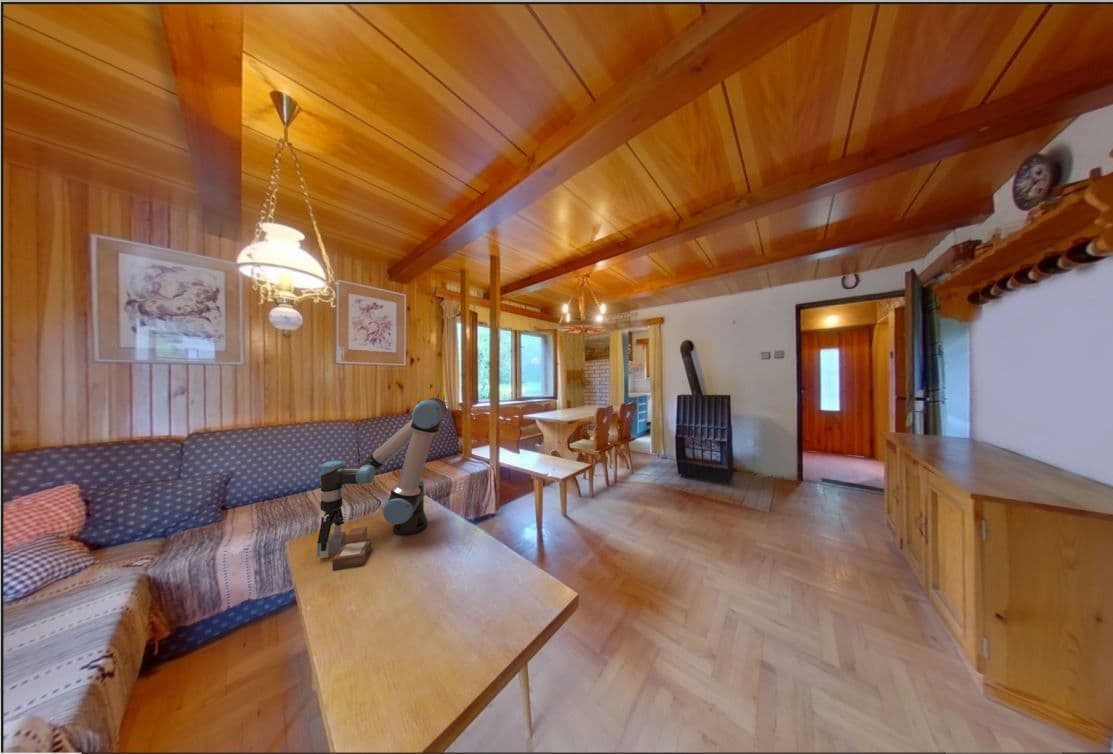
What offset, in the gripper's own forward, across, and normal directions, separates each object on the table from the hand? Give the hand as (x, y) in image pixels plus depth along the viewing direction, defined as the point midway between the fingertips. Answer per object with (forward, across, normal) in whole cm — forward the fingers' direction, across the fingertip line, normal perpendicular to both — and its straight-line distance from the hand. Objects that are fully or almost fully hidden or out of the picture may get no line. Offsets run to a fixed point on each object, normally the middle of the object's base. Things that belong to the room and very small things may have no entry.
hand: (331, 548), depth 131 cm
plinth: (0, +11, +11) cm, 16 cm away
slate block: (0, 0, 0) cm, 1 cm away
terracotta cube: (0, -1, +9) cm, 9 cm away
